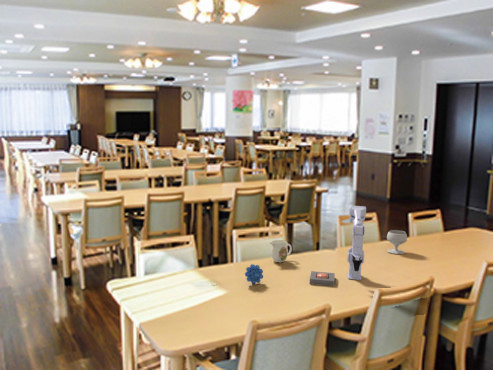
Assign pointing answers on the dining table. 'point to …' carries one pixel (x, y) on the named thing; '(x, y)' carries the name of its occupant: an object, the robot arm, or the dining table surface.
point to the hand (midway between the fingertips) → (356, 268)
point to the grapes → (254, 273)
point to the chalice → (396, 240)
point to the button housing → (322, 279)
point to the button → (322, 275)
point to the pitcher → (280, 250)
